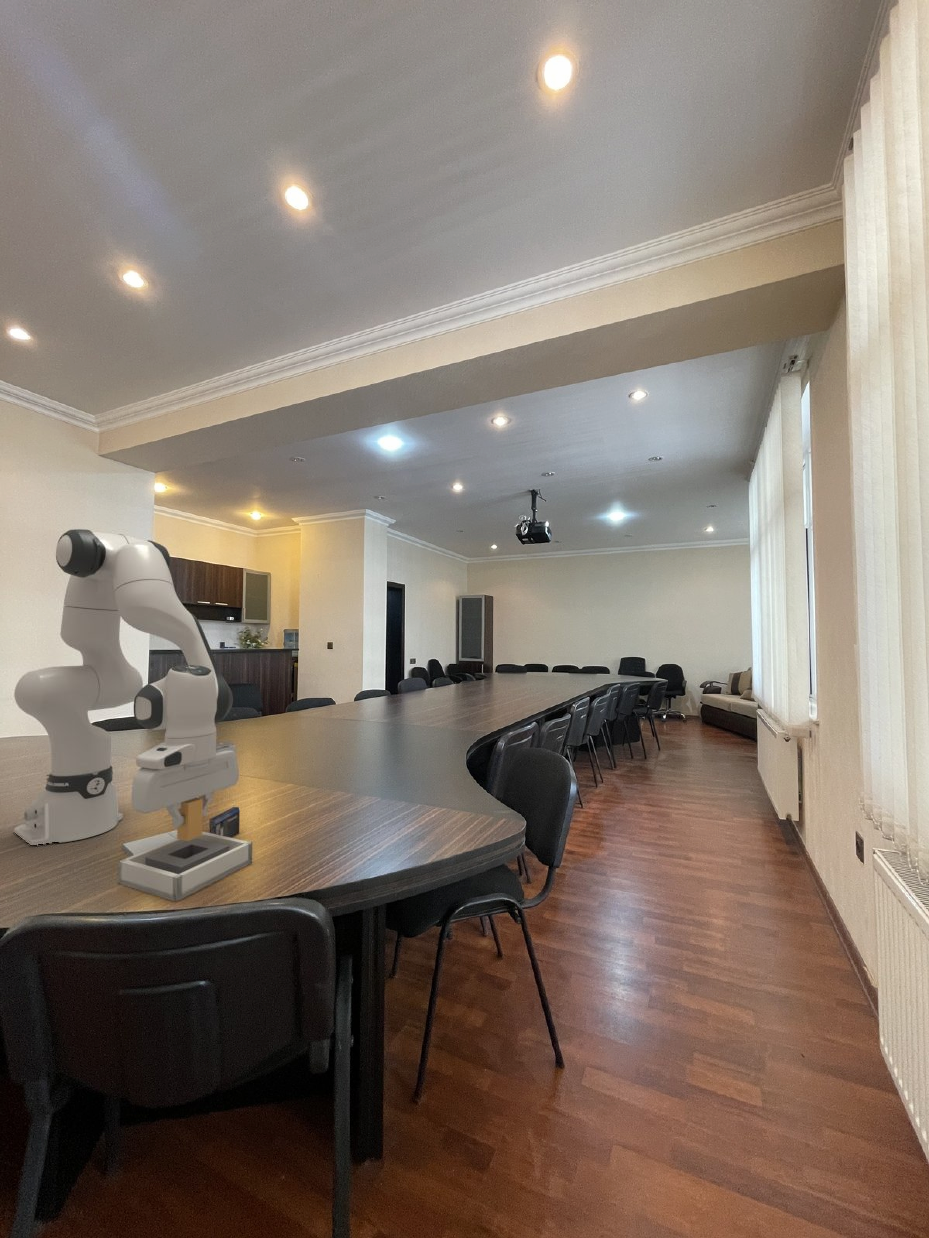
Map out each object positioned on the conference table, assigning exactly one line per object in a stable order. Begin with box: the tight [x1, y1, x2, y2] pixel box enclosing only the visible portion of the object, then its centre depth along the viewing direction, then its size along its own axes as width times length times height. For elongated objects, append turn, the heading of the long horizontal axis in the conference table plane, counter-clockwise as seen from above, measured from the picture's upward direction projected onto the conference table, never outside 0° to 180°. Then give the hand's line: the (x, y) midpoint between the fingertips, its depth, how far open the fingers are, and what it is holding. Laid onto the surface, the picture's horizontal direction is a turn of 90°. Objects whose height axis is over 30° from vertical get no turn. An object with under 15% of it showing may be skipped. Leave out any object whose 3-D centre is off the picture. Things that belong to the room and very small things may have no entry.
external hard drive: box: [121, 829, 177, 857], centre depth 106 cm, size 2×8×12 cm
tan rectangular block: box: [176, 797, 203, 841], centre depth 93 cm, size 3×3×7 cm
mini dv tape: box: [208, 806, 241, 838], centre depth 109 cm, size 8×2×6 cm, turn 170°
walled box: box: [117, 830, 253, 903], centre depth 93 cm, size 16×16×4 cm
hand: (189, 821), depth 93 cm, fingers closed on tan rectangular block, 3 cm apart
